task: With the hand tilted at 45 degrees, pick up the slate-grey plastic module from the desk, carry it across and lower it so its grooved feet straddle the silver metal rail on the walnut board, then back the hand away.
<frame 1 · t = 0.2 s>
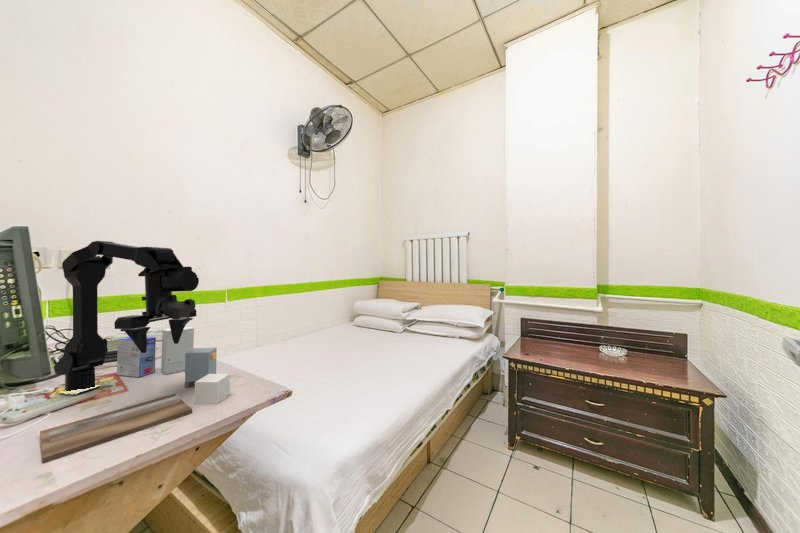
hand: (160, 348, 81), 14 cm above the table, tool pointing down, fingers open, 9 cm apart
module: (201, 383, 92), on the table
rail board: (121, 423, 69), on the table
ink cartridge box: (136, 374, 99), on the table
white cube: (212, 399, 82), on the table
skincare box: (177, 370, 103), on the table
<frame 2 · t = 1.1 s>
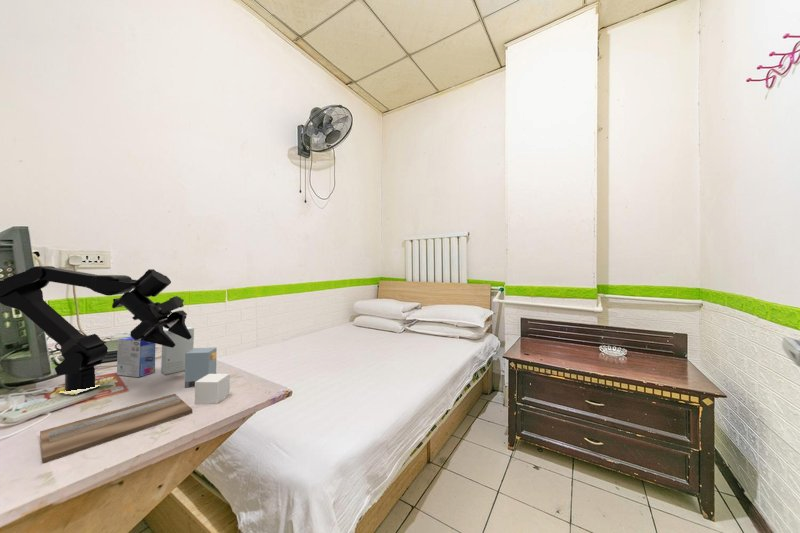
hand: (182, 342, 91), 13 cm above the table, tool tilted 45°, fingers open, 9 cm apart
nothing on the table moved.
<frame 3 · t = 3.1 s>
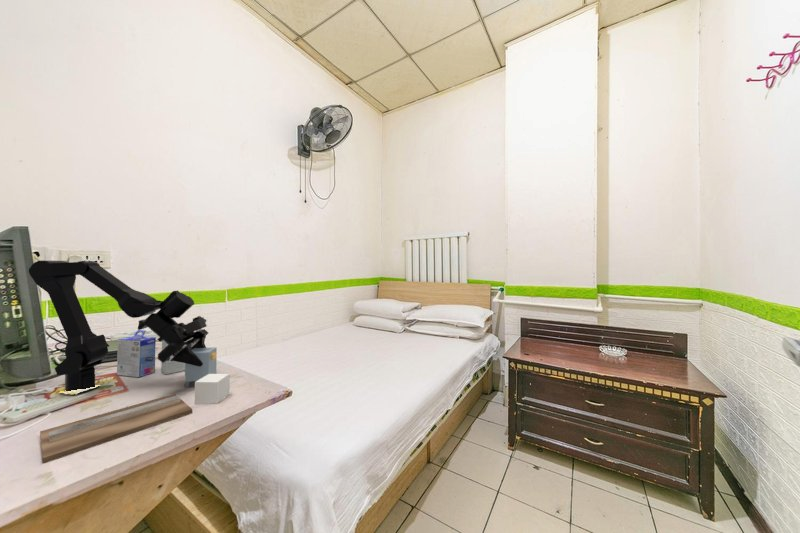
hand: (206, 362, 92), 7 cm above the table, tool tilted 45°, fingers closed on module, 5 cm apart
module: (201, 383, 92), on the table, touching gripper
everything else where it was.
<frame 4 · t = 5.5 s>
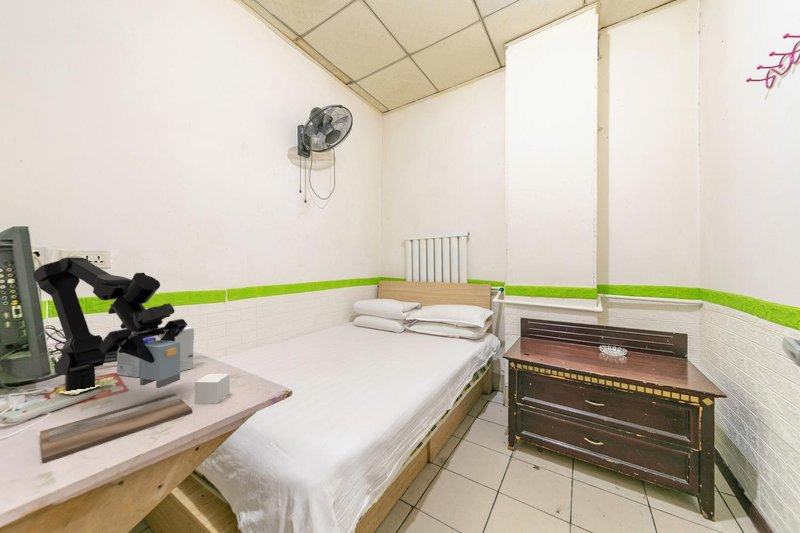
hand: (164, 358, 78), 12 cm above the table, tool tilted 45°, fingers closed on module, 5 cm apart
module: (160, 382, 78), point 6 cm above the table, touching gripper
everything else where it was.
when the fingers open (9 cm above the table, at t = 8.2 s): module drops 1 cm, resting on rail board.
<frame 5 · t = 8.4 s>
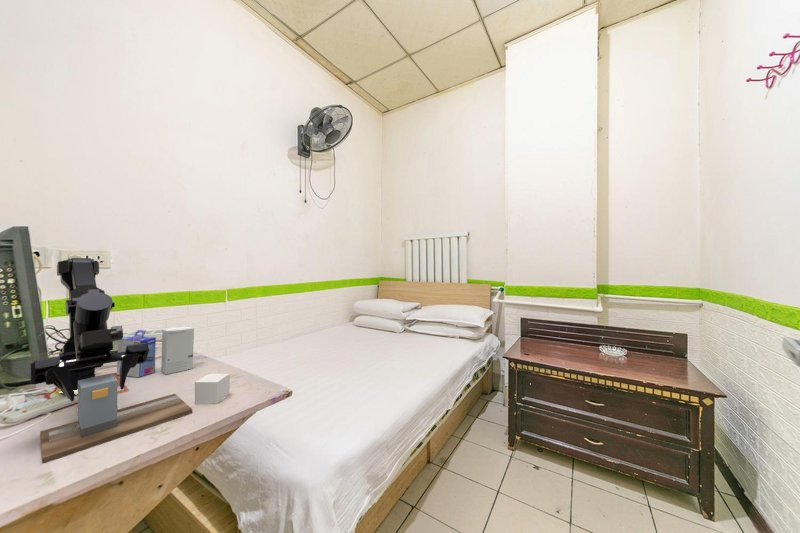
hand: (98, 394, 65), 9 cm above the table, tool tilted 45°, fingers open, 7 cm apart
module: (97, 426, 65), point 1 cm above the table, touching rail board
everything else where it was.
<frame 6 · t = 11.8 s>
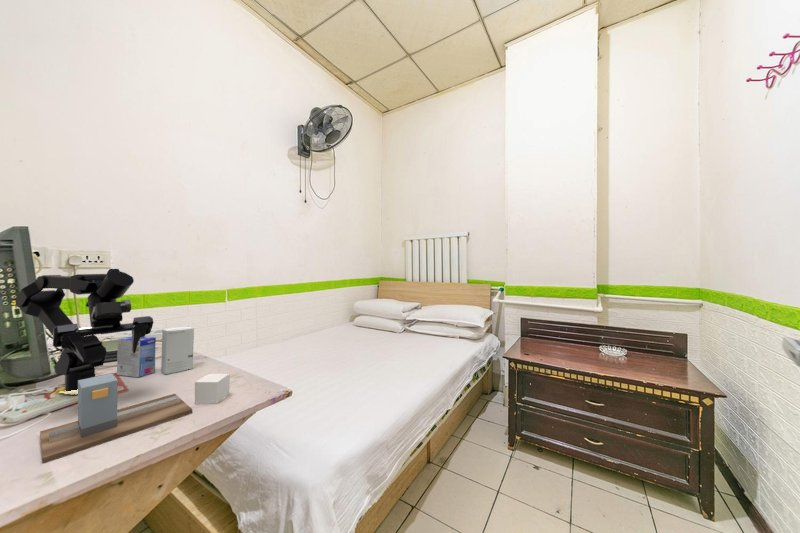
hand: (110, 356, 75), 14 cm above the table, tool tilted 45°, fingers open, 9 cm apart
nothing on the table moved.
at the end: module 0.0 cm from the target spot, point 1.0 cm above the table; module tilted 0°; the gripper is holding nothing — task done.
